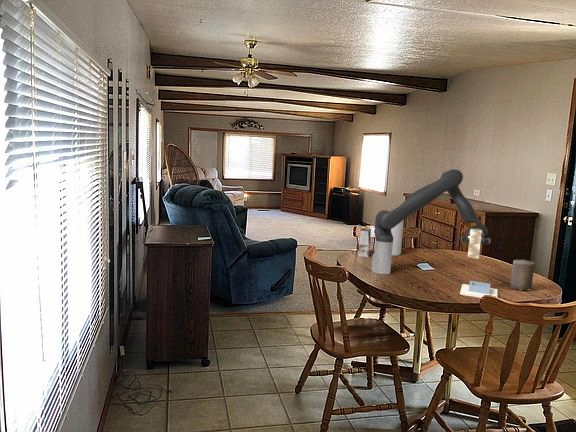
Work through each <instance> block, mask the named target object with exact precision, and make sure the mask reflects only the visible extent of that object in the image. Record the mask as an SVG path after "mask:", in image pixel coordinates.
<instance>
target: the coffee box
mask: <svg viewBox="0 0 576 432" xmlns="http://www.w3.org/2000/svg"><path fill="white" fill-rule="evenodd" d="M371 235H372V229H371V228H360V231H359V244H358V257H363V258H369V255H370V248H371V247H370V246H371V238H372V237H371Z"/></svg>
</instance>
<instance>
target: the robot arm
mask: <svg viewBox="0 0 576 432" xmlns="http://www.w3.org/2000/svg"><path fill="white" fill-rule="evenodd" d="M463 175H464V174H463V173H462V171H460V170H458V169H455V168H454V169H449V170H447V171H444V172H443V173H442V174H441V176H440V178H439V179H437V180H436V181H433V182H431V183H429V184H428V185H425V186H422V187H421V188H419V189H417V190H416V191H414V192H413V193H411V194H410V195H408V196H407V197H406V198H405V200H404V201H403V202H402V204H400V205H399V206H397V207H396V208H393V209H392V210H390V211H389V210H386V209H384V210H380V211H378V212H377V213H376V215H375V219H374V220H375V221H374V235H375V240H374V241H375V242H374V243H375V244H374V253H372V261H371V272H373V273H374V274H378V275H390V274H391V270H392V269H391V268H392V258H393V257H392V248H393V235H392V233H391V229H392V228H394V227H395V226H396V225H398V224H399V223H400V222H401V221H403V220H404V221H405V219H406V218H408V217H410V216H411V215H413V214H414V213H416V212H417V211H419V210H421V209H423V208H425V207H427V206H428V205H429V204H430V203H432V202H433V201H435V200H436V199H437V198H439V197H440V196H441V195H443V194H444V193H446V192H447V193H448V195H449V196H450V198H451V199H452V201H453V202H454V205H455V206H456V208H457V209H458V212H459V214H460V216H461V218H462V221H463V223H465V224H473V223H474V224H475V225H473V226H469V227H468V228H467V229H466V230H465V234H466V236H465V234H464V235H463V234H461V236H460V241H461V243H467V244H468V245H469V241H470V240H469V239H470V230H471V229H477V230H482V234H481V242H480V246H483V245H486V246H488V245H490V244H491V237H487V238H485V236H487V235H488V229H487V226H486V225H485V224H484V223H482V221H481V220H480V218H479V217H478V216H477V214H476V212H475V210H474V208H473V205H472V204H471V202H470V201H469V200H468V199H467V198H466V197H465V195H464V194H463V193H462V191H461V189H460V185H461V183H462V182H463V179H464V176H463Z"/></svg>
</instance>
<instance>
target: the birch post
mask: <svg viewBox="0 0 576 432" xmlns="http://www.w3.org/2000/svg"><path fill="white" fill-rule="evenodd" d="M481 234H482V230H477V229H471V230H470V239H469V240H470V241H469V244H468V250H467V258H471V259H478V260H479V259H480V253H481V252H480V251H481V245H480V242H481Z"/></svg>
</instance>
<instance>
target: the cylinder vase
mask: <svg viewBox="0 0 576 432" xmlns="http://www.w3.org/2000/svg"><path fill="white" fill-rule="evenodd" d="M404 221H405V219H404V220H403V221H401V222H400V223H399V224H398V225H396V226H395V227H394V228H392V229H391V233H392V235H393V248H392V256H394V257H396V256H397V257H398V256H401V254H402V253H401V252H402V242H403V232H404Z"/></svg>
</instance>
